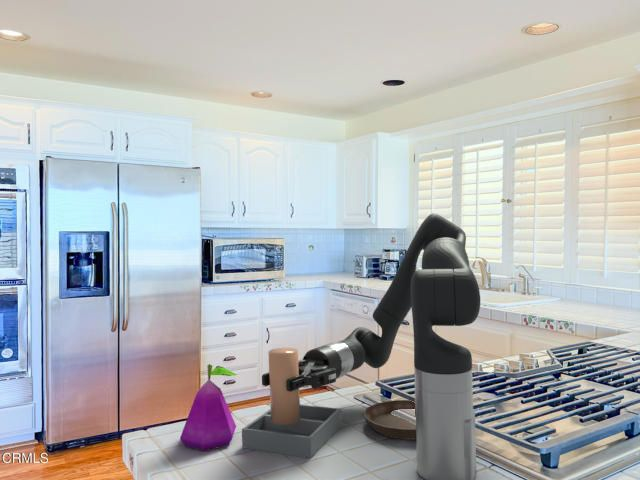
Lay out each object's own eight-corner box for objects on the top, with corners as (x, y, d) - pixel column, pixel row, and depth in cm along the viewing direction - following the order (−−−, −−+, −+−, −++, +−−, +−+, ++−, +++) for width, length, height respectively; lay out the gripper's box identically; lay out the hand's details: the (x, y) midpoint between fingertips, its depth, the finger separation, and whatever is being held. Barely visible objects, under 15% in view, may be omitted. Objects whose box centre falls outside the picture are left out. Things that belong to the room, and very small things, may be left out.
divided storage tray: (341, 425, 104) (340, 408, 104) (311, 457, 89) (310, 438, 89) (280, 418, 109) (279, 402, 109) (242, 447, 94) (241, 429, 94)
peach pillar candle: (305, 415, 97) (302, 348, 97) (292, 426, 92) (290, 355, 92) (279, 412, 100) (276, 346, 99) (265, 422, 94) (263, 353, 94)
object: (362, 412, 112) (362, 399, 112) (442, 411, 111) (442, 397, 111) (366, 445, 94) (366, 429, 94) (462, 444, 94) (461, 428, 94)
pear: (224, 454, 92) (222, 372, 91) (169, 451, 94) (166, 370, 94) (245, 431, 103) (243, 357, 102) (195, 428, 105) (193, 356, 105)
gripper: (301, 341, 111) (247, 358, 98) (356, 349, 103) (304, 368, 89) (302, 375, 112) (248, 396, 98) (357, 385, 103) (306, 410, 89)
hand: (275, 383), depth 94 cm, fingers closed on peach pillar candle, 5 cm apart
